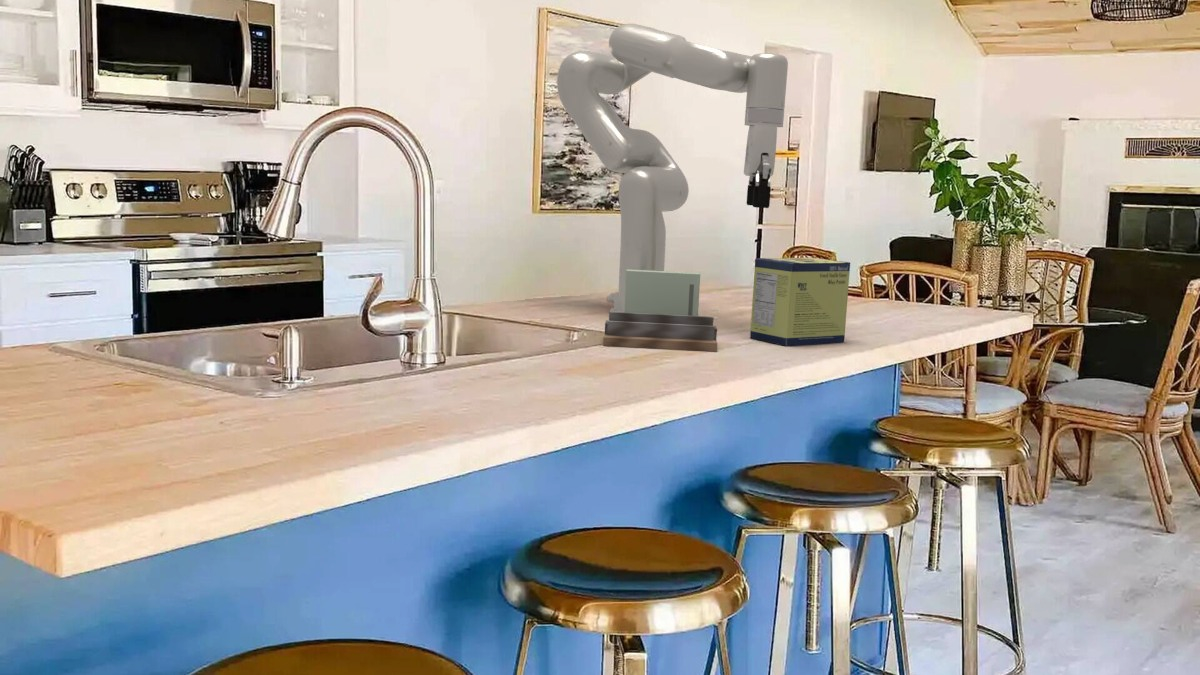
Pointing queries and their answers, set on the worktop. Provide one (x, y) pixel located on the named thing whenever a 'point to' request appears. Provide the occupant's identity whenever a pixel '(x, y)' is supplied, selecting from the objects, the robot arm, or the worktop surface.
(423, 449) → the worktop surface
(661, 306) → the door panel
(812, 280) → the protein box
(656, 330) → the door track
